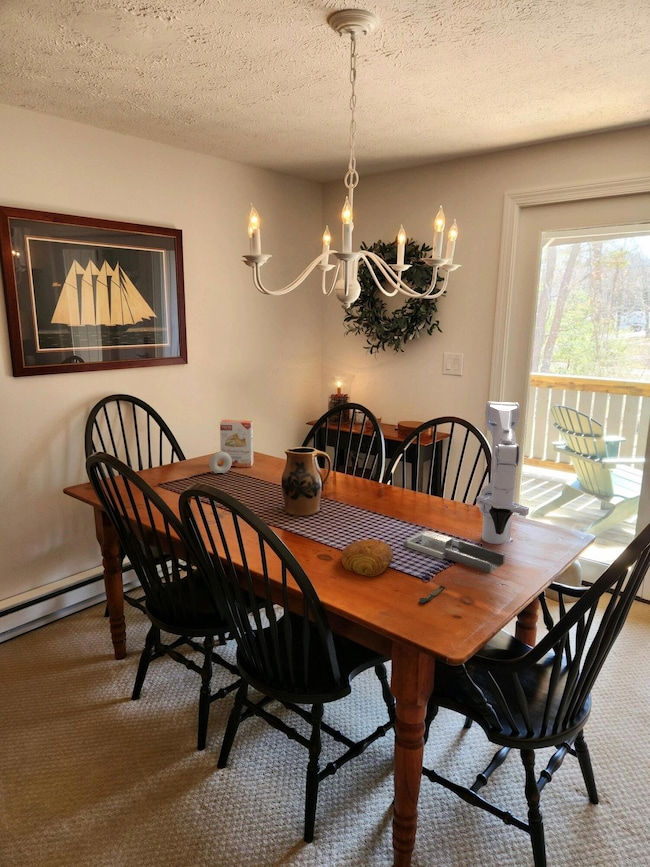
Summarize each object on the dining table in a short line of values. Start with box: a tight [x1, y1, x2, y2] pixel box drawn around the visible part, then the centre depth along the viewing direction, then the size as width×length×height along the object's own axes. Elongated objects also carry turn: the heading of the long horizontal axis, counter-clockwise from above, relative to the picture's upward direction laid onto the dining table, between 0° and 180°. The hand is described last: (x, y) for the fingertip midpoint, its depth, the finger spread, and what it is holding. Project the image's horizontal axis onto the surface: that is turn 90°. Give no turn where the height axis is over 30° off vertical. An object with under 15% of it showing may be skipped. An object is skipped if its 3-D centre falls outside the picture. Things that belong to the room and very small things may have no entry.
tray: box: [403, 530, 460, 560], centre depth 169 cm, size 12×13×2 cm
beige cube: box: [420, 530, 441, 549], centre depth 170 cm, size 4×4×4 cm
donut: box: [208, 450, 232, 474], centre depth 242 cm, size 10×4×10 cm, turn 118°
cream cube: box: [433, 534, 454, 554], centre depth 167 cm, size 4×4×4 cm
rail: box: [444, 540, 506, 574], centre depth 160 cm, size 9×14×4 cm, turn 47°
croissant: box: [341, 538, 394, 577], centre depth 158 cm, size 14×16×8 cm
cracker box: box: [219, 419, 254, 468], centre depth 254 cm, size 14×6×21 cm, turn 86°
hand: (499, 533), depth 158 cm, fingers closed
